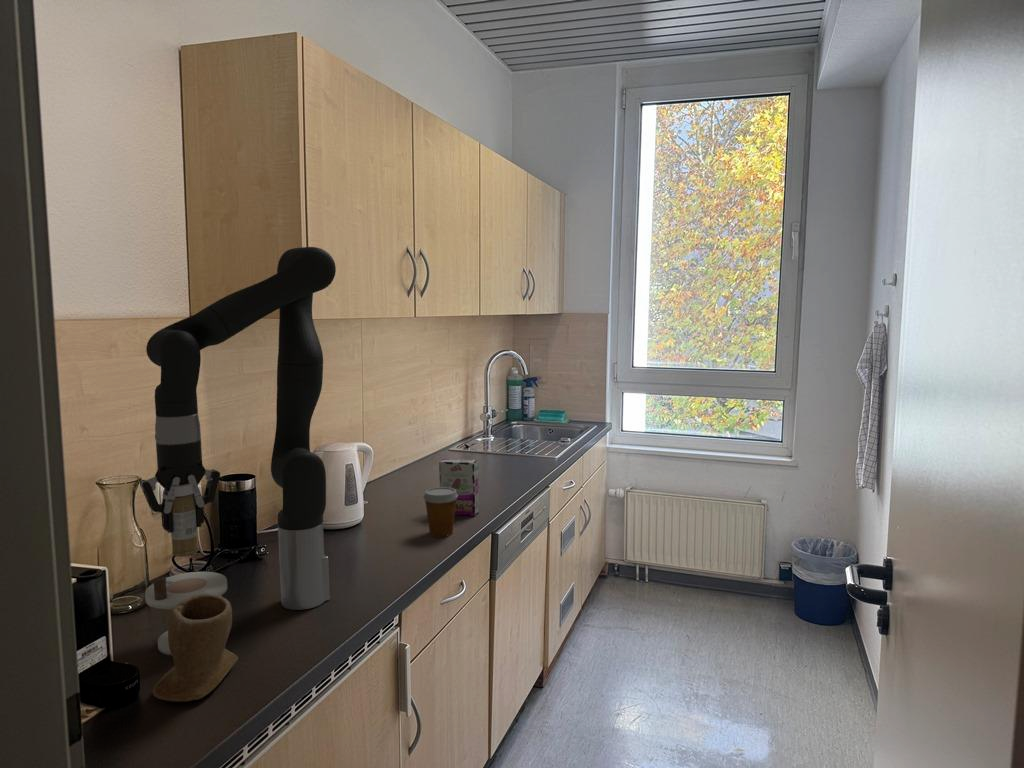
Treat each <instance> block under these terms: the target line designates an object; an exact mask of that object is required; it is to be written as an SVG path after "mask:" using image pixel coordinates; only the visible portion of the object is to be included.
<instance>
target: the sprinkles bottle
mask: <svg viewBox="0 0 1024 768" xmlns="http://www.w3.org/2000/svg"><path fill="white" fill-rule="evenodd" d="M173 490H174V489H173ZM167 492H168V491H167ZM168 493H169V492H168ZM171 513H172V520H173V532H171V533H170V536H171V545H172V548H171V549H172V553H171V554H172V556H174V557H177V558H179V557H180V558H181V557H190V556H193V555H195V554H196V553H198V551H199V547H198V537H197V536H198V531H197V530H198V527H197V525H196V509H195V502H194V495H193V490H192V485H190V484H185V485H179V486H178V487H176V488H175V500H174V501H173V504H172V508H171Z"/></svg>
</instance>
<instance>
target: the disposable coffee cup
mask: <svg viewBox="0 0 1024 768" xmlns="http://www.w3.org/2000/svg"><path fill="white" fill-rule="evenodd" d="M457 497H458V494H457V492H456V490H455V489H453V488H447V487H440V486H439V487H432V488H428V489H426V490H425V491H424V494H423V499H424V501H425V507H426V515H427V523H428V528H429V534H431V535H430V536H432V535H434V536H433V537H435V536H445V537H448V536H447V535H449V536H451V535H453V531H454V523H455V516H456V515H455V507H456V499H457Z"/></svg>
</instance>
